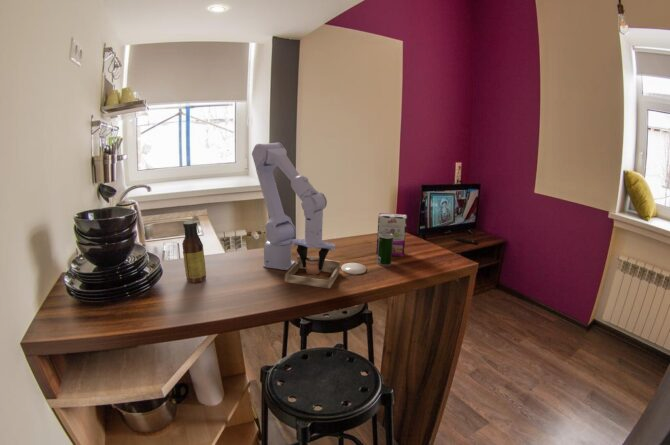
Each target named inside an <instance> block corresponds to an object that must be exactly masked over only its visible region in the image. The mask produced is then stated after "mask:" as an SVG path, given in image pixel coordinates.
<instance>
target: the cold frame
mask: <svg viewBox="0 0 670 445" xmlns="http://www.w3.org/2000/svg"><path fill="white" fill-rule="evenodd" d="M340 263H341V261H340V260H334V259H326V258H325V260H324V264H323V268H322V270H320V272H324V273H331V276H330V277H329V279H323V278H317V277H309V276H303V275H302V276H301V275H295V274H296V272H298V270H299V269H303V270H306V267H305V268H304V267H303V264H302V261H301V258H300V256H299V255H297V256H296V261H295V263H294V264H293V265H292V266H291V267H290V268H289V269H288V270H287V272H286V273H285V274H284V282H285V283H291V284H298V285H303V286H311V287H317V288H325V289H331V288H332V286H333V285H334V283H335V281H336V279H337V277H338V276H339V274H340V268H341V266H340Z"/></svg>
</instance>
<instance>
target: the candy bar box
mask: <svg viewBox="0 0 670 445" xmlns="http://www.w3.org/2000/svg"><path fill="white" fill-rule="evenodd" d="M377 219H378V221H377V239H376V249H375V250H376V252H375V253H376V255H378V242H379V235H380V232H391V233H393V248H392V257H404V256H405V246H406V245H405V244H406V234H407V222H408V215H407V214H403V213H402V214H401V213H387V212H386V213H384V212H383V213H382V212H379V214H378V218H377Z"/></svg>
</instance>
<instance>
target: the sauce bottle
mask: <svg viewBox="0 0 670 445" xmlns="http://www.w3.org/2000/svg"><path fill="white" fill-rule="evenodd" d="M182 226H183V228H184V238H183V240H182V243H181V244H182V254H183V263H184V270H185V271H184V272H185V277H186V281H187V282H188V283H191V284H198V283H201V282H203V281H205V280H206V279H207V269H206V261H205V251H204V243H203V242H202V239H201V238H200V236H199V234H198V223H197V221H196V220H187V221H184V222H182Z"/></svg>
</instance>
